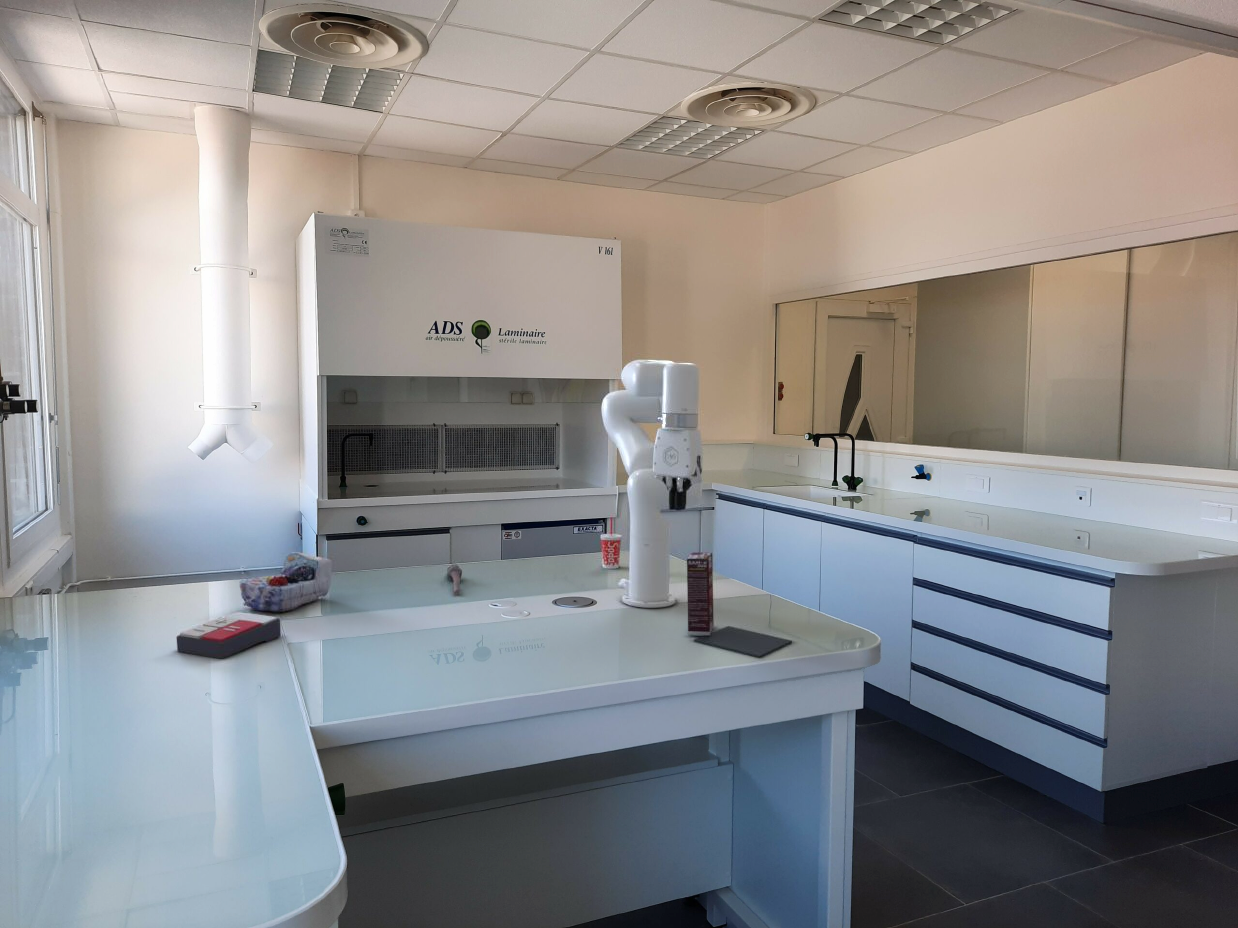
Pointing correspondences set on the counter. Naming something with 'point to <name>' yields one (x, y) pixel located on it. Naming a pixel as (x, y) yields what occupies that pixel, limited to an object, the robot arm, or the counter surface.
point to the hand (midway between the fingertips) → (677, 509)
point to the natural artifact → (455, 577)
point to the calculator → (228, 634)
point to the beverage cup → (611, 549)
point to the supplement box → (700, 594)
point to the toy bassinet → (289, 584)
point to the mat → (743, 641)
